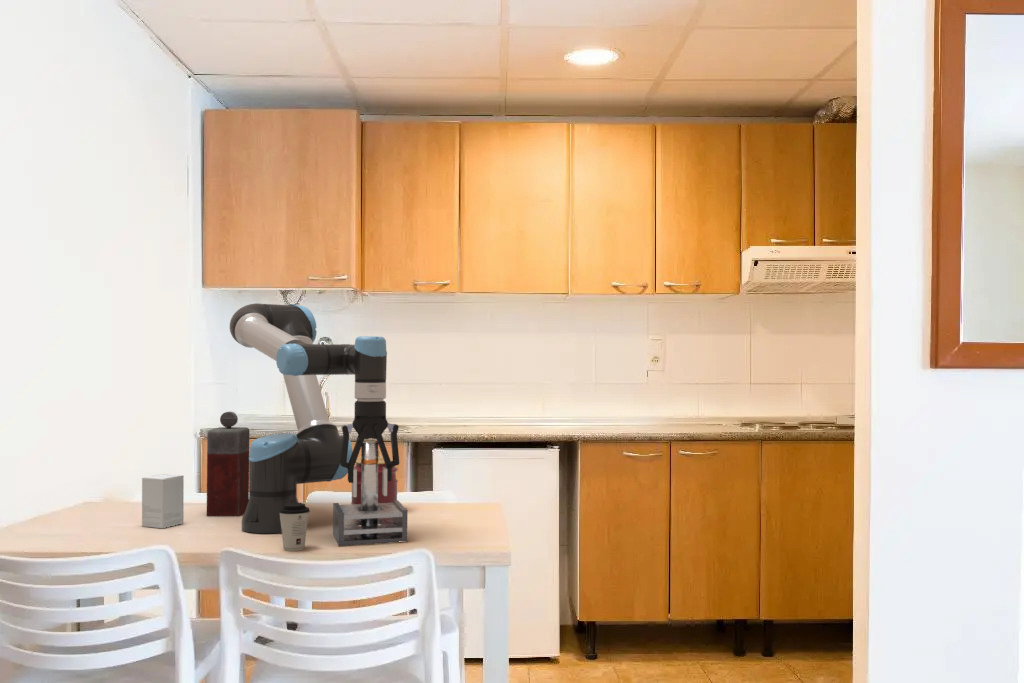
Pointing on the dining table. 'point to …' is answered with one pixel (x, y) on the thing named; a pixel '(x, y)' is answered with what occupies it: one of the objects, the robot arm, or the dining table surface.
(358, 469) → the canister
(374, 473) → the tube
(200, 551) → the dining table surface
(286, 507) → the coffee cup
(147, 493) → the supplement box
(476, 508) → the dining table surface
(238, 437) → the square decanter
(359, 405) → the robot arm
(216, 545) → the dining table surface
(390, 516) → the collar stand
